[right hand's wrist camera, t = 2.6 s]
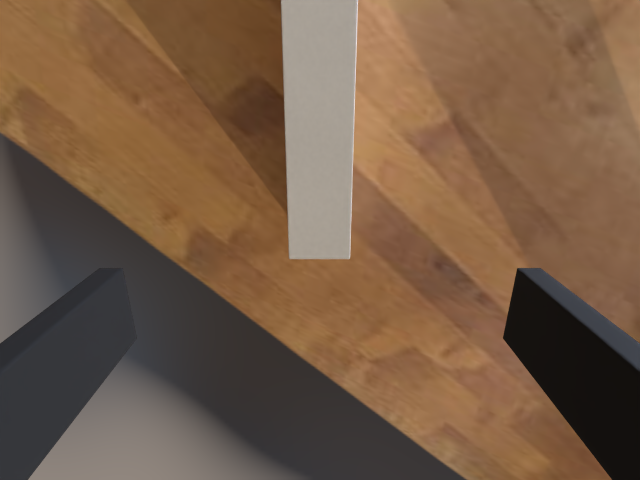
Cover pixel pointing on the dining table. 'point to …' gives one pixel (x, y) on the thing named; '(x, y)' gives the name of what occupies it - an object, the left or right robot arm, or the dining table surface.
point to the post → (319, 124)
